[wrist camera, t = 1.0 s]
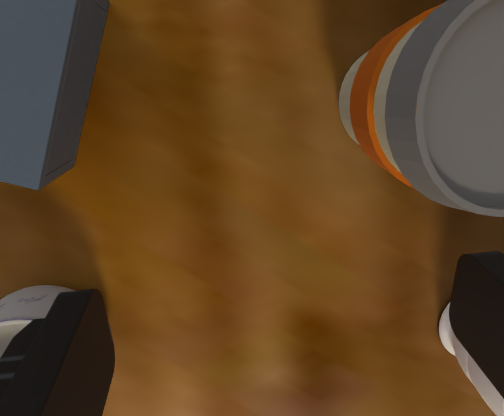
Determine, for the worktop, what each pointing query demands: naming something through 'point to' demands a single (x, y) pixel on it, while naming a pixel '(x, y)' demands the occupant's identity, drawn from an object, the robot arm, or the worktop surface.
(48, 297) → the teacup
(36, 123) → the cabinet
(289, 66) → the worktop surface
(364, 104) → the reusable coffee cup
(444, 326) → the jar
